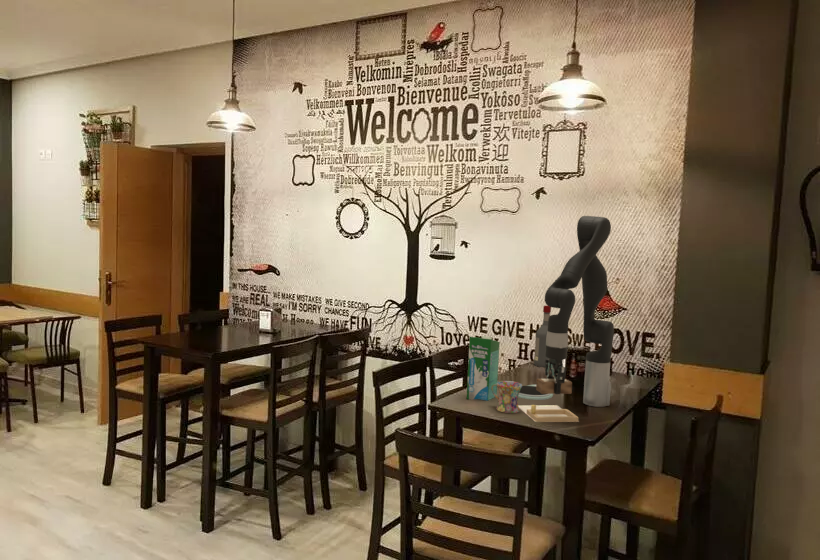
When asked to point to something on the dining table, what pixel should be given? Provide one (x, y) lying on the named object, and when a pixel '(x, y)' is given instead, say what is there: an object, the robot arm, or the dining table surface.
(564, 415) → the wooden tray
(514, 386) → the mug
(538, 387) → the brown wooden block
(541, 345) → the liquor
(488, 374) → the milk carton
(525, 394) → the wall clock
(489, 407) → the dining table surface
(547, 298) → the robot arm
